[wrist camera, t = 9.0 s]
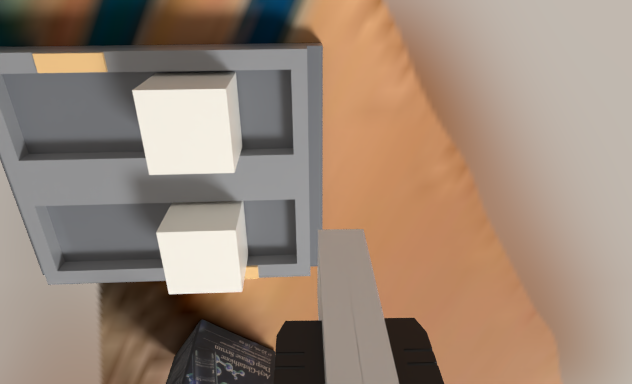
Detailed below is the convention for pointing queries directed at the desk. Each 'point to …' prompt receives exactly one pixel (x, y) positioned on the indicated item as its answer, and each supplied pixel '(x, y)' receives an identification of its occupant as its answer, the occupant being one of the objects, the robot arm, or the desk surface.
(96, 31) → the desk surface
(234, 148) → the tab
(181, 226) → the tab
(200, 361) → the box
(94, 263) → the dip bank
